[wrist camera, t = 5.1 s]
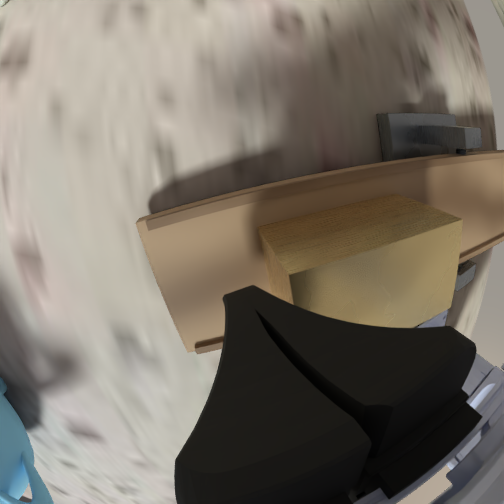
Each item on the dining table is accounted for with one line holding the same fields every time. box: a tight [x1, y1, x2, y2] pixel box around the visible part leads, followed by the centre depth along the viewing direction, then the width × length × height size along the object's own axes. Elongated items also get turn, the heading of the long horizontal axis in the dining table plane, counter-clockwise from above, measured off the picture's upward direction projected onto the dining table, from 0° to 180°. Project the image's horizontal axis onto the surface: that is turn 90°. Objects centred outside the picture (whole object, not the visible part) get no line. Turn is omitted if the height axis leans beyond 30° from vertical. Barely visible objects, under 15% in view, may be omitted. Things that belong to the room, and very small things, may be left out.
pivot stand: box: [377, 113, 482, 291], centre depth 15 cm, size 12×8×5 cm, turn 12°
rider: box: [257, 194, 463, 328], centre depth 11 cm, size 4×7×4 cm, turn 102°
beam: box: [136, 149, 504, 354], centre depth 11 cm, size 8×36×6 cm, turn 102°
